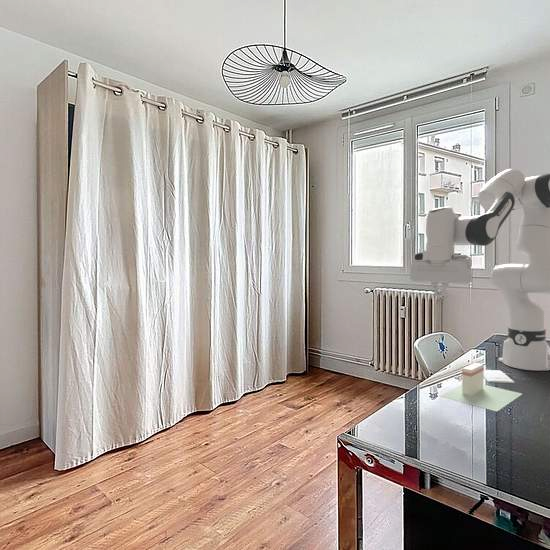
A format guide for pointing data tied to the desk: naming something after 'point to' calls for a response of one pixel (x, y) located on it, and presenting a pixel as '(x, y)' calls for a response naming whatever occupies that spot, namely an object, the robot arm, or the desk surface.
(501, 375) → the external hard drive
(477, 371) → the card box
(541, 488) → the desk surface
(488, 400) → the mat
